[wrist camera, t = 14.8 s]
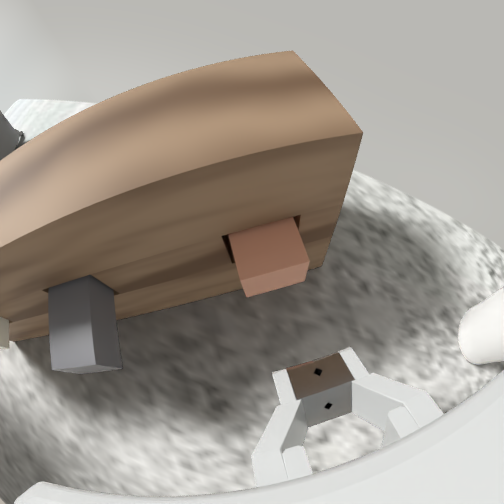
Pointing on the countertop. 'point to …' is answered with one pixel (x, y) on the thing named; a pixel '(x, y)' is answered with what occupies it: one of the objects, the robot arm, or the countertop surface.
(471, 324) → the drinking glass
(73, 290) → the charcoal key
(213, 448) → the countertop surface
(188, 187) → the console
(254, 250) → the terracotta key
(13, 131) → the grey footed pot
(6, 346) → the cream key
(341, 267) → the countertop surface
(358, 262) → the countertop surface
